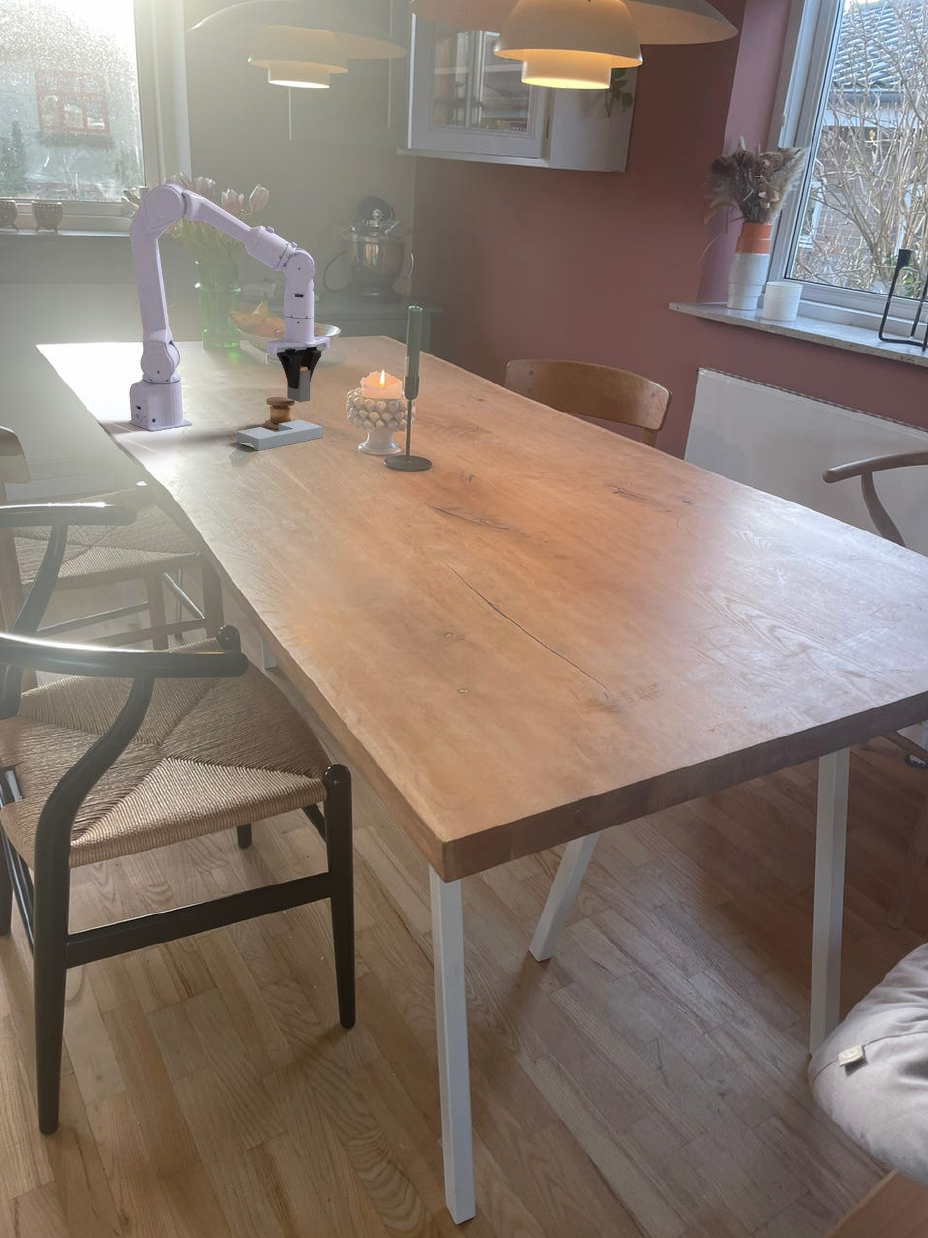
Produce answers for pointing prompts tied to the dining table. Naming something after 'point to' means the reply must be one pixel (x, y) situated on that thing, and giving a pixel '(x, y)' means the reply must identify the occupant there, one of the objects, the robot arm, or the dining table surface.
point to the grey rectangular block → (301, 386)
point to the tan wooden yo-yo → (279, 411)
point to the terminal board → (280, 435)
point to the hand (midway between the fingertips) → (299, 386)
